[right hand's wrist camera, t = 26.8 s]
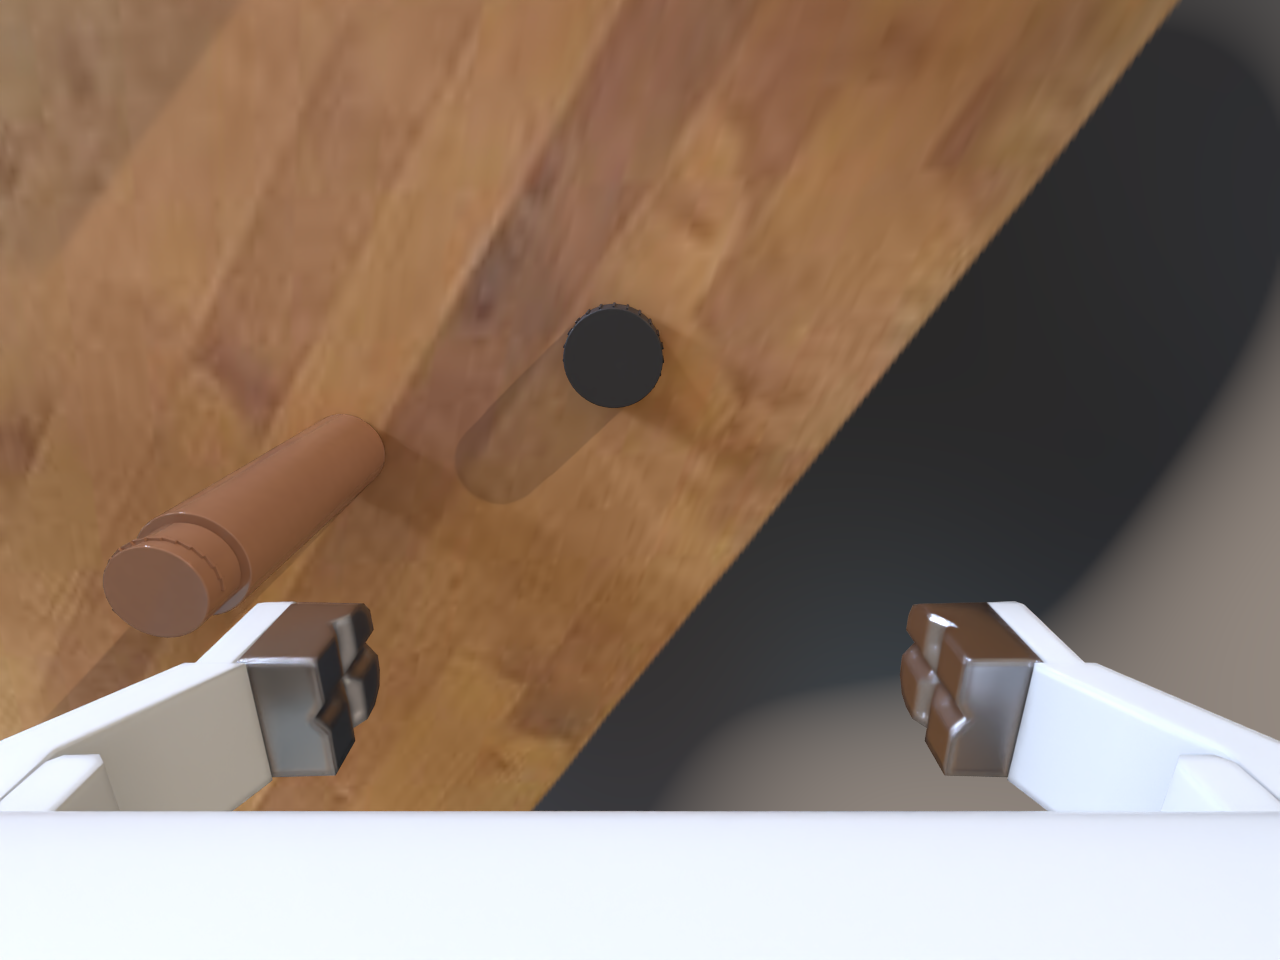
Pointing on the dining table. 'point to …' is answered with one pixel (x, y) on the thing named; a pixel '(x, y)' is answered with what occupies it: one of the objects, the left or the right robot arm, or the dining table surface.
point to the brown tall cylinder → (240, 528)
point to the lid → (613, 355)
